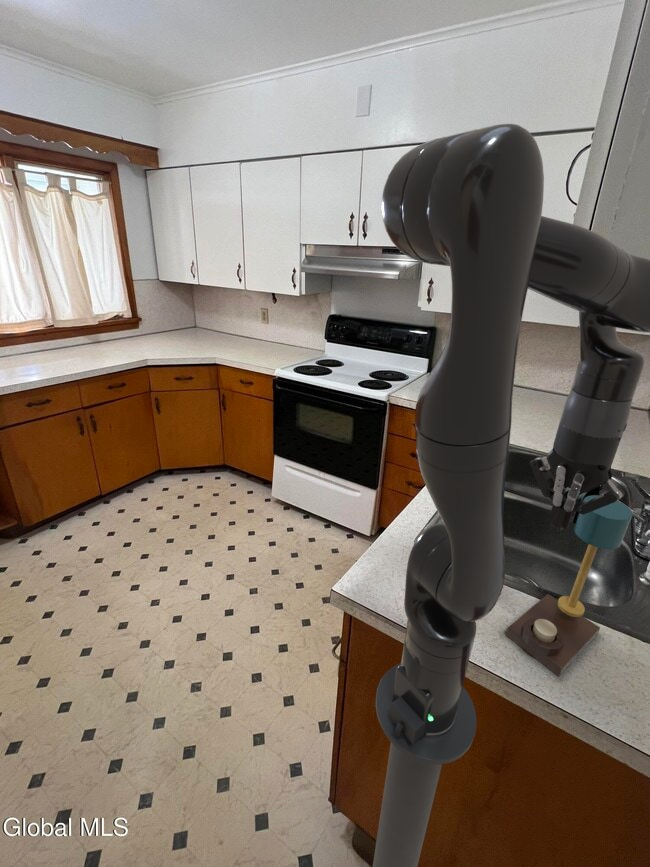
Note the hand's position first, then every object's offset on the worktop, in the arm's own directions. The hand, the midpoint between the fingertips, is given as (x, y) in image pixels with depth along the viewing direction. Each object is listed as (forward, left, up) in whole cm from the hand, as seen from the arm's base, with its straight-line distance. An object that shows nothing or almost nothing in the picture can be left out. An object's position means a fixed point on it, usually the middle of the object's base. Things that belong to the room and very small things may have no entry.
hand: (558, 526), depth 65 cm
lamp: (+12, -2, -23) cm, 26 cm away
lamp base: (+7, -2, -27) cm, 28 cm away
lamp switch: (+3, -2, -23) cm, 24 cm away
